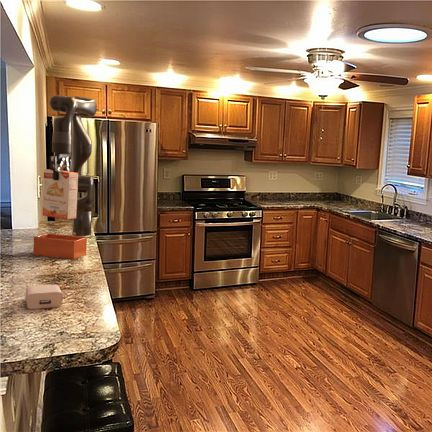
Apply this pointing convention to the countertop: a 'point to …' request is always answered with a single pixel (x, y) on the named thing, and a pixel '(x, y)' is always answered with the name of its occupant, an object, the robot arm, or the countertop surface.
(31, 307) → the charger
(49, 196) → the cracker box
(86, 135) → the robot arm
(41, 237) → the holder
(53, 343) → the countertop surface
